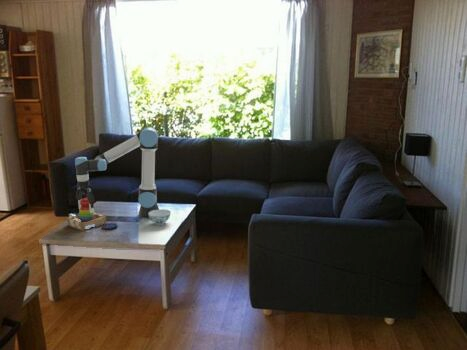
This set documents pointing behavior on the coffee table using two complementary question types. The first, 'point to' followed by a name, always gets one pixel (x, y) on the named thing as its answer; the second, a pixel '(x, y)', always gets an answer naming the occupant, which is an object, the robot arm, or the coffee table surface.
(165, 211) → the chinaware
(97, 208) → the coffee table surface
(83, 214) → the stacking bear
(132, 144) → the robot arm
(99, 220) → the crate
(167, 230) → the coffee table surface
